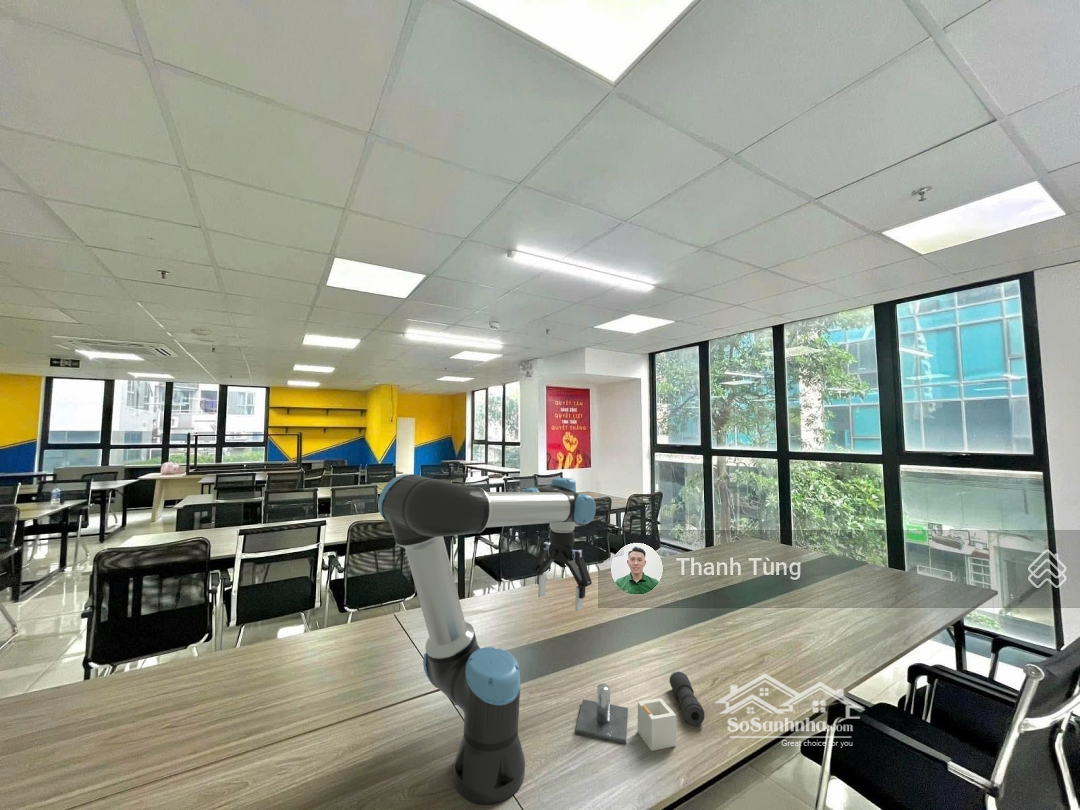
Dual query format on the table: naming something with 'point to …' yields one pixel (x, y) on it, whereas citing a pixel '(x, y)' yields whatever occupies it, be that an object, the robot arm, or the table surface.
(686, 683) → the flashlight
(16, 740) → the table surface
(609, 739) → the shaft block
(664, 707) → the white hollow block
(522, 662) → the table surface
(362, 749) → the table surface
